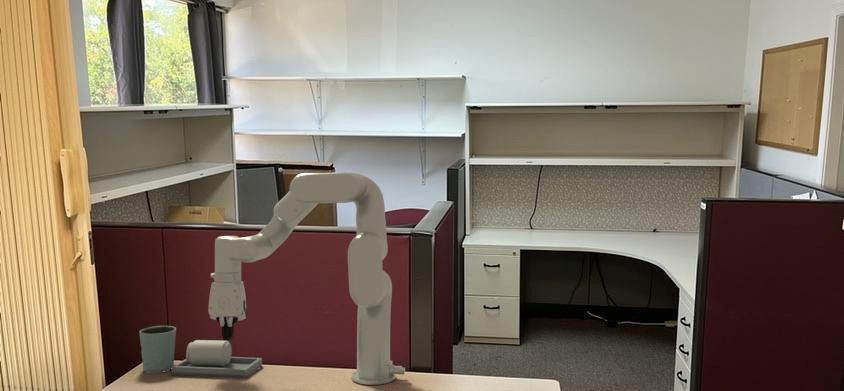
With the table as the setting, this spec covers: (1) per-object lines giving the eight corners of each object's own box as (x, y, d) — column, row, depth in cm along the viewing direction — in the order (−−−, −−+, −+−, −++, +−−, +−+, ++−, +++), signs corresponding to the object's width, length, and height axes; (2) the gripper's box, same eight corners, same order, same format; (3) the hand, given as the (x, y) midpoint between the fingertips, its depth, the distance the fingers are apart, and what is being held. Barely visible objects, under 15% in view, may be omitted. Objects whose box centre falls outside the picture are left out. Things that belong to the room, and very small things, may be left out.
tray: (262, 366, 190) (262, 358, 190) (245, 378, 178) (245, 370, 178) (192, 363, 193) (192, 355, 193) (171, 375, 180) (171, 366, 180)
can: (226, 337, 185) (187, 337, 186) (222, 363, 182) (182, 362, 182) (234, 344, 192) (196, 343, 192) (230, 368, 189) (191, 367, 189)
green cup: (182, 365, 191) (182, 326, 191) (165, 374, 181) (165, 333, 181) (150, 363, 192) (150, 325, 192) (132, 373, 182) (132, 332, 182)
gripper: (198, 278, 182) (198, 341, 182) (247, 280, 180) (246, 343, 180) (209, 275, 189) (209, 335, 189) (257, 276, 187) (256, 336, 187)
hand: (227, 338), depth 185 cm, fingers closed
